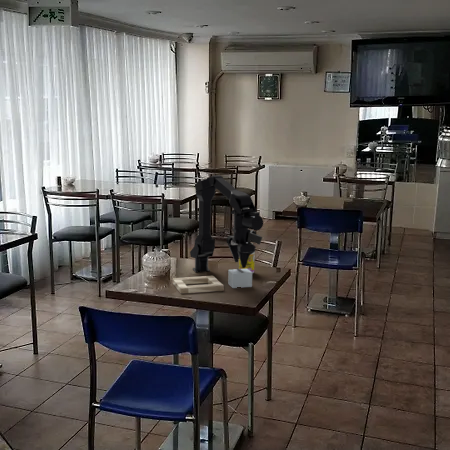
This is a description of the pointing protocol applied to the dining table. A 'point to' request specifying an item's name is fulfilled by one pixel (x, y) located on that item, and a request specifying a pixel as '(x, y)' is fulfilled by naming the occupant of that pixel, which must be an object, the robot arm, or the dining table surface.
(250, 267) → the supplement bottle
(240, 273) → the grey-blue cabinet box
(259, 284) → the dining table surface
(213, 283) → the birch pocket board
